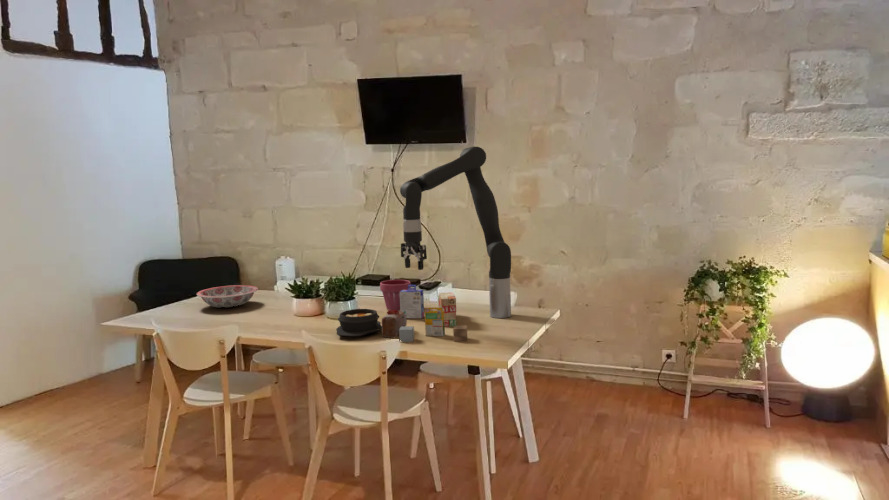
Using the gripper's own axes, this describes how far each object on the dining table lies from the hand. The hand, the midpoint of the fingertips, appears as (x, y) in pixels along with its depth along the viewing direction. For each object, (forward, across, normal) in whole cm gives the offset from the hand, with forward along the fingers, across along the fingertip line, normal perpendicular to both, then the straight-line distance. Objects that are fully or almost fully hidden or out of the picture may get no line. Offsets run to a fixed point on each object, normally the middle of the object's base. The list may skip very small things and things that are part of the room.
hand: (414, 268), depth 287 cm
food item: (+25, -2, +14) cm, 28 cm away
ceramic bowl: (+24, +102, +37) cm, 112 cm away
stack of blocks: (+25, -3, -15) cm, 29 cm away
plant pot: (+25, +33, -14) cm, 44 cm away
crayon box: (+25, -18, +5) cm, 31 cm away
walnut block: (+25, -30, +2) cm, 39 cm away
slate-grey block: (+25, -15, +17) cm, 33 cm away
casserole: (+25, +10, +23) cm, 35 cm away
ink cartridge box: (+25, +13, -8) cm, 29 cm away
